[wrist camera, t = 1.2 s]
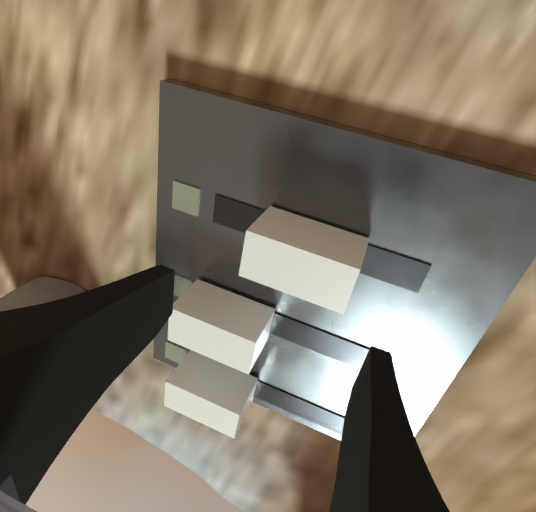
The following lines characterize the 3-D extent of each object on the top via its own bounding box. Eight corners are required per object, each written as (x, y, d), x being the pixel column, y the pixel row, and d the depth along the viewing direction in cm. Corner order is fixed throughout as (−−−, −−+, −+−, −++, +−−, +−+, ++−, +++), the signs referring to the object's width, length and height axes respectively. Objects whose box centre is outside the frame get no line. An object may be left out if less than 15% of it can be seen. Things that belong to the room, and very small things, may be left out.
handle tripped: (369, 238, 17) (360, 269, 15) (354, 279, 19) (343, 314, 16) (270, 205, 18) (246, 230, 16) (261, 247, 20) (238, 275, 17)
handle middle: (275, 308, 21) (255, 343, 19) (267, 339, 23) (248, 374, 20) (197, 278, 22) (169, 307, 20) (194, 309, 24) (167, 339, 21)
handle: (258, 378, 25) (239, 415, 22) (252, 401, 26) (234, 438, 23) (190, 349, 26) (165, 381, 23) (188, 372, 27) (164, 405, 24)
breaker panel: (569, 185, 15) (578, 194, 14) (396, 451, 25) (395, 466, 24) (171, 78, 19) (158, 80, 18) (161, 348, 29) (152, 358, 28)
